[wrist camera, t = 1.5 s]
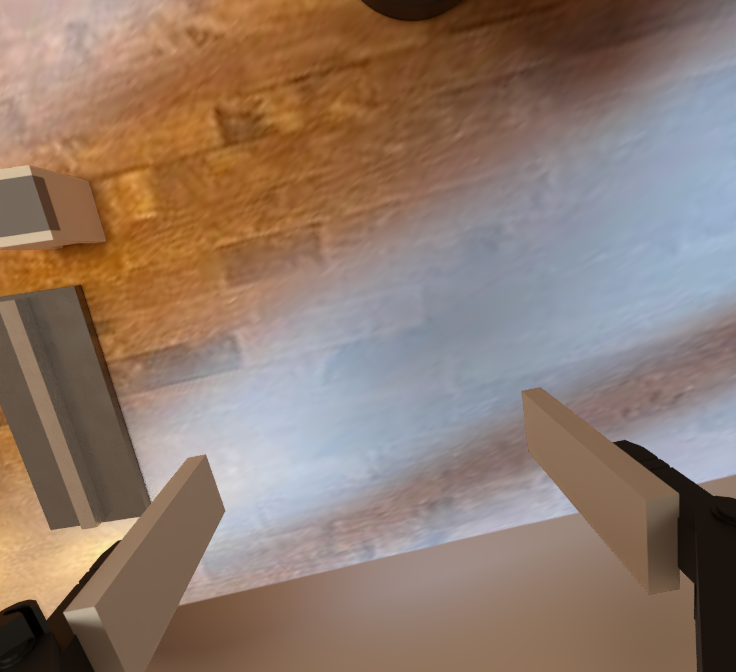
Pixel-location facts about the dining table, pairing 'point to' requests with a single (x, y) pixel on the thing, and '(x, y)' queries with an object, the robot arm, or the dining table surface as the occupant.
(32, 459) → the rail
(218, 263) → the dining table surface
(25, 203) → the block
